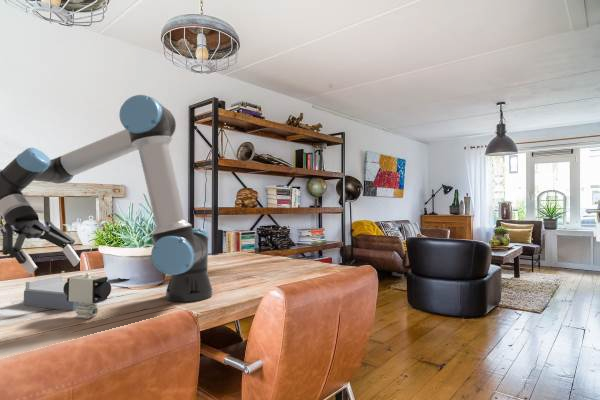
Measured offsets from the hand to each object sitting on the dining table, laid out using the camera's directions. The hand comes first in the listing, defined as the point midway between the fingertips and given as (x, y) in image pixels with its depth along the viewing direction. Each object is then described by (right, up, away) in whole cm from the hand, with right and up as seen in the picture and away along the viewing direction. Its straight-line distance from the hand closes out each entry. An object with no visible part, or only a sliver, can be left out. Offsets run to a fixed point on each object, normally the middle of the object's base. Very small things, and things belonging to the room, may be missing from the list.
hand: (56, 266), depth 103 cm
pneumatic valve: (+11, -13, -3) cm, 17 cm away
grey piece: (-6, -13, +11) cm, 18 cm away
